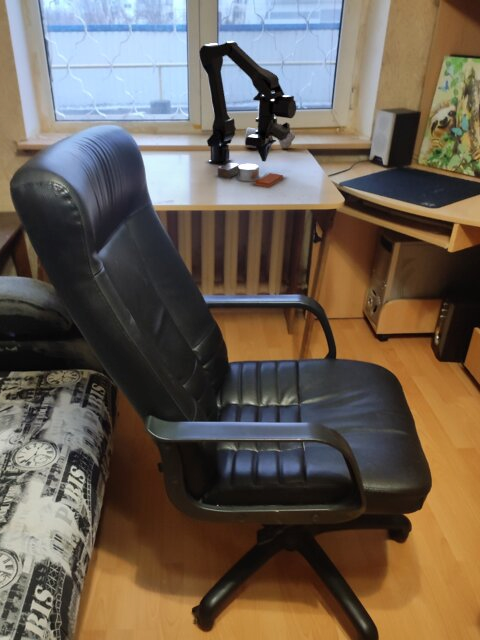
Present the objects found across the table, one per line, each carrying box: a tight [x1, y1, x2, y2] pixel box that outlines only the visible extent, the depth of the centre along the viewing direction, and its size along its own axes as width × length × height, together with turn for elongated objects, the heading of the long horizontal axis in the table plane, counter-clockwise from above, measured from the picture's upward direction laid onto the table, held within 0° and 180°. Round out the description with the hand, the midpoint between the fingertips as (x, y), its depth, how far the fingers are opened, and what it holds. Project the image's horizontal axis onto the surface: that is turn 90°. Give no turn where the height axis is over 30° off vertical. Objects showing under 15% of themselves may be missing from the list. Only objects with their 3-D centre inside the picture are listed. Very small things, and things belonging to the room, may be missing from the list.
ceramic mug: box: [244, 127, 258, 149], centre depth 228 cm, size 11×8×8 cm
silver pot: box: [237, 163, 260, 182], centre depth 194 cm, size 7×7×4 cm
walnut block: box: [217, 162, 241, 179], centre depth 198 cm, size 4×8×3 cm, turn 147°
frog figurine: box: [278, 130, 296, 150], centre depth 225 cm, size 6×7×7 cm
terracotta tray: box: [253, 172, 284, 188], centre depth 192 cm, size 6×12×1 cm, turn 147°
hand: (263, 161), depth 201 cm, fingers closed
